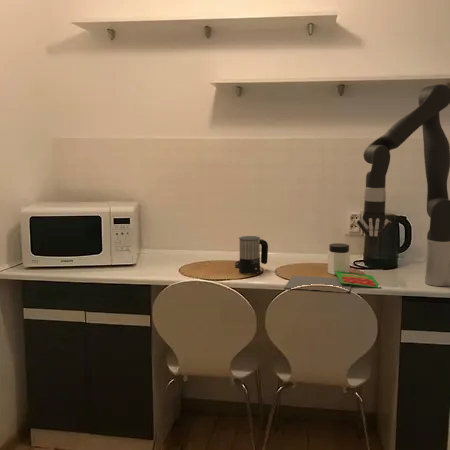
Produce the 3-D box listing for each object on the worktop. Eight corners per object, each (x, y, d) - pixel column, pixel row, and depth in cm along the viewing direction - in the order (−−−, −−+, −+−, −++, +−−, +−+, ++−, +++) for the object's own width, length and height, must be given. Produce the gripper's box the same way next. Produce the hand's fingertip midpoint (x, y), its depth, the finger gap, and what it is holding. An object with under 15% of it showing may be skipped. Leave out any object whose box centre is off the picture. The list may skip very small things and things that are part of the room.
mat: (352, 280, 232) (352, 279, 232) (349, 293, 213) (349, 291, 213) (292, 276, 238) (292, 275, 238) (284, 289, 219) (284, 287, 219)
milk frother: (252, 275, 241) (252, 240, 239) (221, 270, 251) (221, 236, 249) (270, 269, 253) (271, 235, 250) (241, 264, 262) (241, 232, 260)
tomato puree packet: (341, 281, 221) (334, 270, 240) (340, 284, 221) (334, 272, 241) (382, 286, 220) (372, 274, 240) (381, 289, 220) (371, 277, 240)
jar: (328, 275, 241) (328, 246, 240) (327, 270, 249) (328, 243, 248) (350, 275, 240) (351, 247, 238) (348, 271, 248) (349, 243, 246)
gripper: (393, 199, 217) (391, 245, 220) (357, 198, 221) (355, 243, 223) (393, 201, 210) (391, 248, 213) (356, 200, 214) (354, 246, 216)
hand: (373, 245), depth 218 cm, fingers closed
